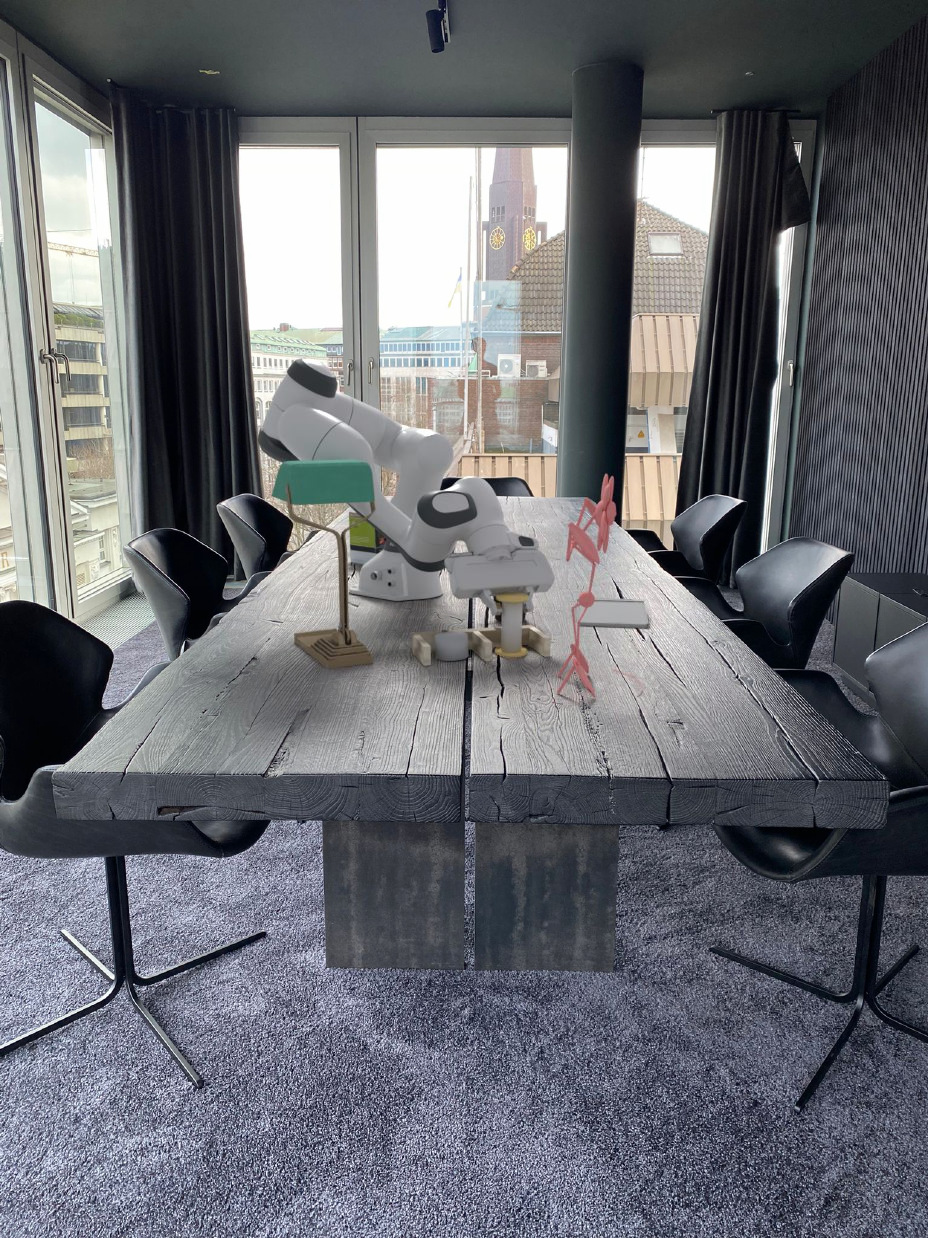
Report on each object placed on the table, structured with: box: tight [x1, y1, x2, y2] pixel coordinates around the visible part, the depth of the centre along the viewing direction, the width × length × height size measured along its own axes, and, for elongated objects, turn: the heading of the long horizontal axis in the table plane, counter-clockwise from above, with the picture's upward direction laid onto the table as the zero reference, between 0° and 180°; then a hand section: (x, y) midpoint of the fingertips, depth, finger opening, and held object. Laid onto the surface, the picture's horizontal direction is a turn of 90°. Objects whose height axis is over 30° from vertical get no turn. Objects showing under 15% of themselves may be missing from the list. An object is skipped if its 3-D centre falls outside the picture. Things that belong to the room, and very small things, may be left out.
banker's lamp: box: [271, 460, 376, 670], centre depth 164 cm, size 16×21×35 cm
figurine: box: [551, 473, 647, 705], centre depth 145 cm, size 15×26×35 cm, turn 174°
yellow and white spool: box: [494, 592, 529, 659], centre depth 167 cm, size 6×6×11 cm
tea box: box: [348, 510, 384, 565], centre depth 256 cm, size 15×10×15 cm
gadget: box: [574, 596, 650, 629], centre depth 199 cm, size 23×15×4 cm, turn 174°
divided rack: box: [410, 624, 552, 667], centre depth 167 cm, size 10×24×4 cm, turn 107°
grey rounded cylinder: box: [435, 632, 470, 662], centre depth 165 cm, size 6×6×4 cm
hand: (513, 612), depth 166 cm, fingers open, 5 cm apart
